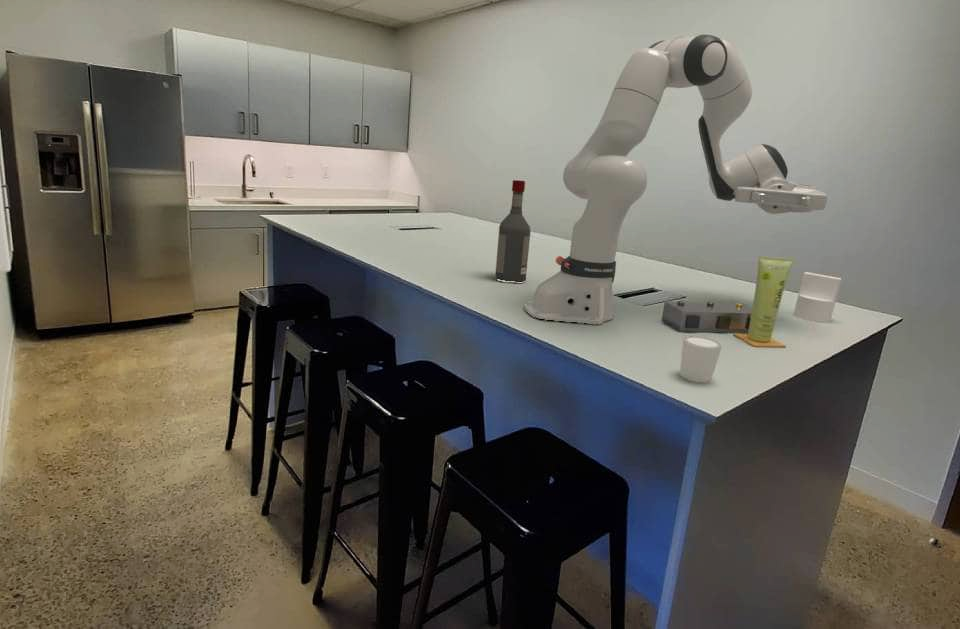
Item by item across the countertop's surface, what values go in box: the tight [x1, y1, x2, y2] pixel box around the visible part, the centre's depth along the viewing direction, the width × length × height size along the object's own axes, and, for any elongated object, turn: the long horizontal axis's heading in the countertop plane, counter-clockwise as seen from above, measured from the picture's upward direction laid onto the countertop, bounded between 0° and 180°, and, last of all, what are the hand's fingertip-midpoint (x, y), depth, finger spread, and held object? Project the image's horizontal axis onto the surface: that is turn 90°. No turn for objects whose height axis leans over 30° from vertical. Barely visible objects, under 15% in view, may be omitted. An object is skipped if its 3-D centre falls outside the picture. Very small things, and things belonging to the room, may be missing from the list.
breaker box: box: [661, 300, 753, 334], centre depth 138 cm, size 22×10×6 cm, turn 99°
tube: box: [747, 255, 794, 342], centre depth 128 cm, size 6×5×20 cm
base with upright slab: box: [793, 271, 842, 324], centre depth 154 cm, size 9×9×12 cm
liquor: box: [495, 179, 532, 282], centre depth 169 cm, size 9×9×30 cm
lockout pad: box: [733, 333, 787, 348], centre depth 130 cm, size 8×8×1 cm
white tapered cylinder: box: [679, 336, 722, 383], centre depth 105 cm, size 7×7×7 cm
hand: (783, 199), depth 132 cm, fingers open, 8 cm apart
